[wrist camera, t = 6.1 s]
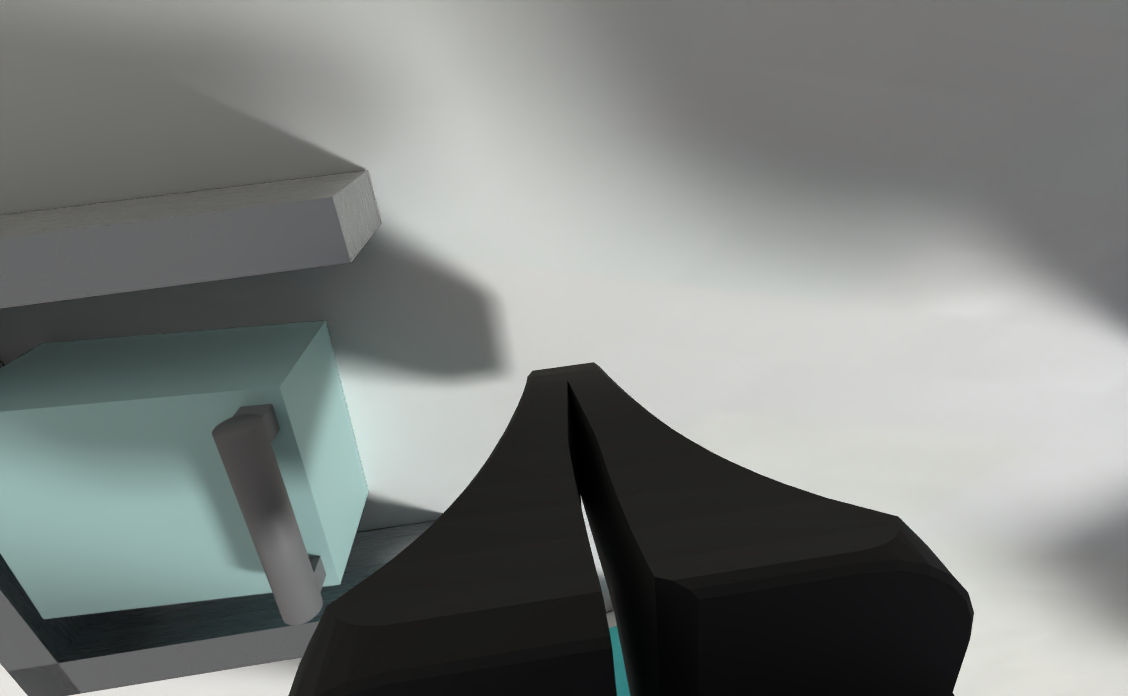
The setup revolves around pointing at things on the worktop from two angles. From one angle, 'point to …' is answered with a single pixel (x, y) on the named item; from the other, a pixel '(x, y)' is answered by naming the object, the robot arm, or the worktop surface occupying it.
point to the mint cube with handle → (178, 470)
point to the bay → (154, 260)
